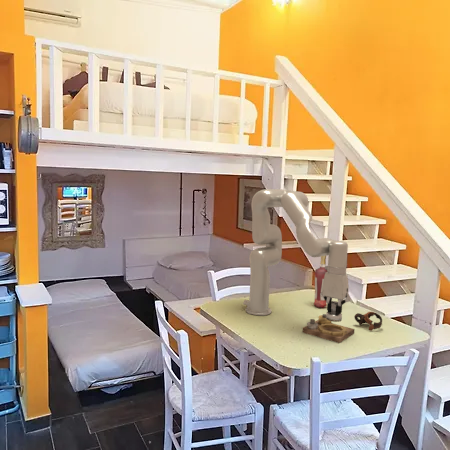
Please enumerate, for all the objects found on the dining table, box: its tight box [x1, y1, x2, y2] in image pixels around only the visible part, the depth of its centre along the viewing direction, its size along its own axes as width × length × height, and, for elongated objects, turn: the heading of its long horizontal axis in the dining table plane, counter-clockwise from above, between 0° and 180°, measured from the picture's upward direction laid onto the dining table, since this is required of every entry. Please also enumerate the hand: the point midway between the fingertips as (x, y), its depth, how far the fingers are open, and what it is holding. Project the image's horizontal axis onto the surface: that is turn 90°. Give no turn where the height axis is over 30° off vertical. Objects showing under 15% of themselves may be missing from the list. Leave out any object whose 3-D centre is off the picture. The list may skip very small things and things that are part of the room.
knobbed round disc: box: [325, 300, 343, 323], centre depth 184 cm, size 6×6×7 cm
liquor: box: [313, 256, 328, 309], centre depth 224 cm, size 7×7×28 cm
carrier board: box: [301, 313, 355, 344], centre depth 188 cm, size 17×15×6 cm
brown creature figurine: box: [354, 311, 383, 332], centre depth 197 cm, size 12×9×8 cm
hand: (334, 312), depth 184 cm, fingers closed on knobbed round disc, 3 cm apart
